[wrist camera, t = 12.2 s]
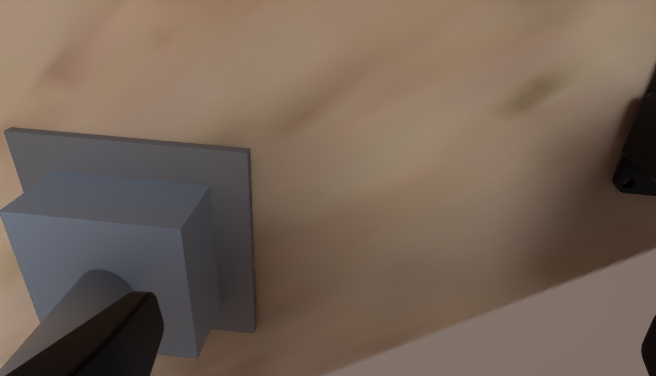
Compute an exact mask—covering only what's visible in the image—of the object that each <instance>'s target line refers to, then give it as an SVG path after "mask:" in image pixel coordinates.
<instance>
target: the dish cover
mask: <svg viewBox="0 0 656 376" xmlns="http://www.w3.org/2000/svg"><path fill="white" fill-rule="evenodd" d="M0 216H1V219H2V221H3V224H4V227H5V229H6V232H7V235H8V238H9V240H10V243H11V246H12V248H13V251H14V254H15V256H16V259H17V262H18V264H19V267H20V270H21V272H22V275H23V278H24V280H25V283H26V286H27V289H28V291H29V294H30V297H31V299H32V302H33V305H34V307H35V310H36V313H37V315H38V318H39V321H40V324H39V326H38V327H37V328H36V329H35V330H34V331H33V332H32V334H31V335H30V336H29V337H28V338H27V339H26V340H25V342H24V343H23V344H22V345H21V346H20V347H19V348H18V350H17V351H16V352H15V353H14V354H13V355H12V356H11V358H10V359H9V360H8V361H7V362H6V363H5V364H4V366H3V367H2V368H1V369H0V376H5V375H7V374H8V373H10V372H11V371H13V370H14V369H15V368H17V367H18V366H20V365H21V364H23V363H24V362H26V361H27V360H29V359H30V358H32V357H33V356H35V355H36V354H38V353H39V352H41V351H42V350H44V349H45V348H47V347H48V346H50V345H51V344H53V343H54V342H56V341H57V340H59V339H60V338H62V337H63V336H65V335H66V334H68V333H69V332H71V331H72V330H74V329H75V328H77V327H78V326H80V325H81V324H83V323H84V322H86V321H87V320H89V319H90V318H92V317H93V316H95V315H96V314H98V313H99V312H101V311H102V310H104V309H105V308H107V307H108V306H110V305H111V304H113V303H114V302H116V301H117V300H119V299H120V298H122V297H123V296H125V295H126V294H128V293H130V292H132V291H150V292H153V293H154V294H155V295H156V297H157V300H158V304H159V307H160V311H161V314H162V317H163V321H164V333H163V337H162V340H161V343H160V346H159V349H158V352H157V354H163V355H171V356H180V357H189V358H197V359H198V357H199V355H200V352H201V350H202V348H203V345H204V343H205V341H206V338H207V336H208V334H209V331H210V329H211V326H212V324H213V322H214V319H215V317H216V315H217V312H218V310H219V308H220V305H221V304H220V293H219V282H218V271H217V260H216V248H215V237H214V226H213V215H212V204H211V192H210V186H208V185H197V184H187V183H176V182H165V181H155V180H144V179H133V178H123V177H112V176H102V175H91V174H80V173H70V172H59V171H54V172H52V173H51V174H50V175H48V176H47V177H46V178H44V179H43V180H41V181H40V182H39V183H37V184H36V185H34V186H33V187H32V188H30V189H29V190H27V191H26V192H25V193H23V194H22V195H21V196H19V197H18V198H16V199H15V200H14V201H12V202H11V203H9V204H8V205H7V206H5V207H4V208H3V209H1V210H0Z"/></svg>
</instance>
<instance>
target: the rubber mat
mask: <svg viewBox="0 0 656 376" xmlns="http://www.w3.org/2000/svg"><path fill="white" fill-rule="evenodd" d="M4 134H5V137H6V140H7V143H8V146H9V149H10V152H11V155H12V158H13V161H14V164H15V167H16V170H17V173H18V176H19V179H20V182H21V185H22V188H23V191H24V193H25V192H26V191H27V190H29V189H30V188H32V187H33V186H34V185H36V184H37V183H39V182H40V181H41V180H43V179H44V178H46V177H47V176H48V175H50V174H51V173H52V172H54V171H59V172H70V173H80V174H91V175H102V176H112V177H123V178H133V179H144V180H155V181H165V182H176V183H187V184H197V185H208V186H210V192H211V204H212V215H213V226H214V237H215V248H216V260H217V271H218V282H219V293H220V304H221V305H220V308H219V310H218V312H217V315H216V317H215V319H214V322H213V324H212V326H211V328H212V329H221V330H230V331H238V332H247V333H255V330H256V304H255V277H254V249H253V221H252V193H251V165H250V149H248V148H236V147H225V146H214V145H203V144H192V143H180V142H169V141H158V140H147V139H136V138H124V137H113V136H102V135H91V134H80V133H69V132H57V131H46V130H35V129H24V128H13V127H11V128H9V129H7V130H5V131H4Z"/></svg>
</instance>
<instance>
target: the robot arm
mask: <svg viewBox="0 0 656 376" xmlns="http://www.w3.org/2000/svg"><path fill="white" fill-rule="evenodd" d="M622 152H623V155H622V158H621V160H620V162H619V165H618V167H617V169H616V172H615V174H614V176H613V180H612V183H613V185H614V186H615V187H616V188H617V190H619V191H620V192H623V193H630V194H641V195H652V196H656V77H655V80H654V82H653V84H652V87H651V89H650V91H649V94H648V95H647V96H646V97H645V98H644V99H643V102H642V104H641V107H640V109H639V111H638V114H637V116H636V118H635V121H634V123H633V126H632V128H631V130H630V133H629V135H628V137H627V140H626V142H625V145H624V147H623V149H622ZM628 178H630V180H629V182H627V183H626V184H622V183H623V182H624V180H626V179H628ZM163 333H164V321H163V317H162V314H161V311H160V307H159V304H158V300H157V297H156V295H155V294H154V293H153V292H150V291H132V292H130V293H128V294H126V295H125V296H123V297H122V298H120V299H119V300H117V301H116V302H114V303H113V304H111V305H110V306H108V307H107V308H105V309H104V310H102V311H101V312H99V313H98V314H96V315H95V316H93V317H92V318H90V319H89V320H87V321H86V322H84V323H83V324H81V325H80V326H78V327H77V328H75V329H74V330H72V331H71V332H69V333H68V334H66V335H65V336H63V337H62V338H60V339H59V340H57V341H56V342H54V343H53V344H51V345H50V346H48V347H47V348H45V349H44V350H42V351H41V352H39V353H38V354H36V355H35V356H33V357H32V358H30V359H29V360H27V361H26V362H24V363H23V364H21V365H20V366H18V367H17V368H15V369H14V370H13V371H11V372H10V373H8V374H7V375H5V376H150V374H151V371H152V368H153V364H154V361H155V358H156V355H157V352H158V349H159V346H160V343H161V340H162V337H163ZM641 352H642V357H643V361H644V364H645V366H646V368H647V371H648V374H649V376H656V315H655V316H654V318H653V320H652V323H651V325H650V327H649V329H648V332H647V334H646V336H645V338H644V341H643V343H642V349H641Z"/></svg>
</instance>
